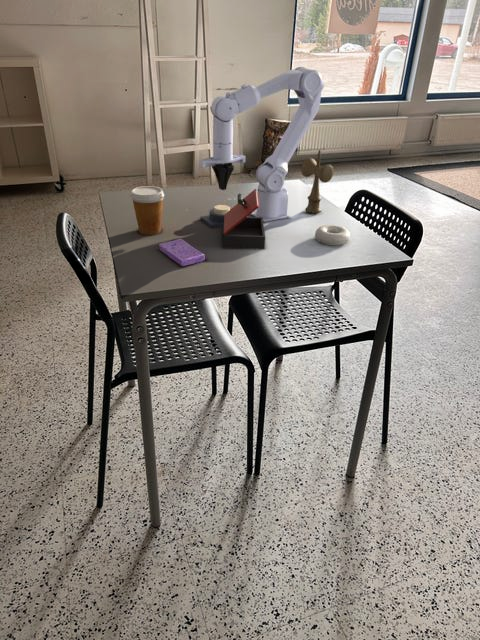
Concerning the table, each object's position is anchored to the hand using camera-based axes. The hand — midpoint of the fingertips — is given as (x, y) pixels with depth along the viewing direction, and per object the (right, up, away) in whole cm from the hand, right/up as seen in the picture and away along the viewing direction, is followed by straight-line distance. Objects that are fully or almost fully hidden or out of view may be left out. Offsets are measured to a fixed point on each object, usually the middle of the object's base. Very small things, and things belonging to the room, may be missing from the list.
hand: (222, 189), depth 150 cm
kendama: (+29, -4, +14) cm, 33 cm away
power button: (0, -7, +3) cm, 7 cm away
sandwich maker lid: (+6, -9, -11) cm, 15 cm away
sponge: (-10, -23, -18) cm, 31 cm away
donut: (+32, -17, -6) cm, 37 cm away
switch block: (0, -9, +4) cm, 10 cm away
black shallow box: (+6, -16, -7) cm, 18 cm away
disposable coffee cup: (-21, -14, -4) cm, 26 cm away
